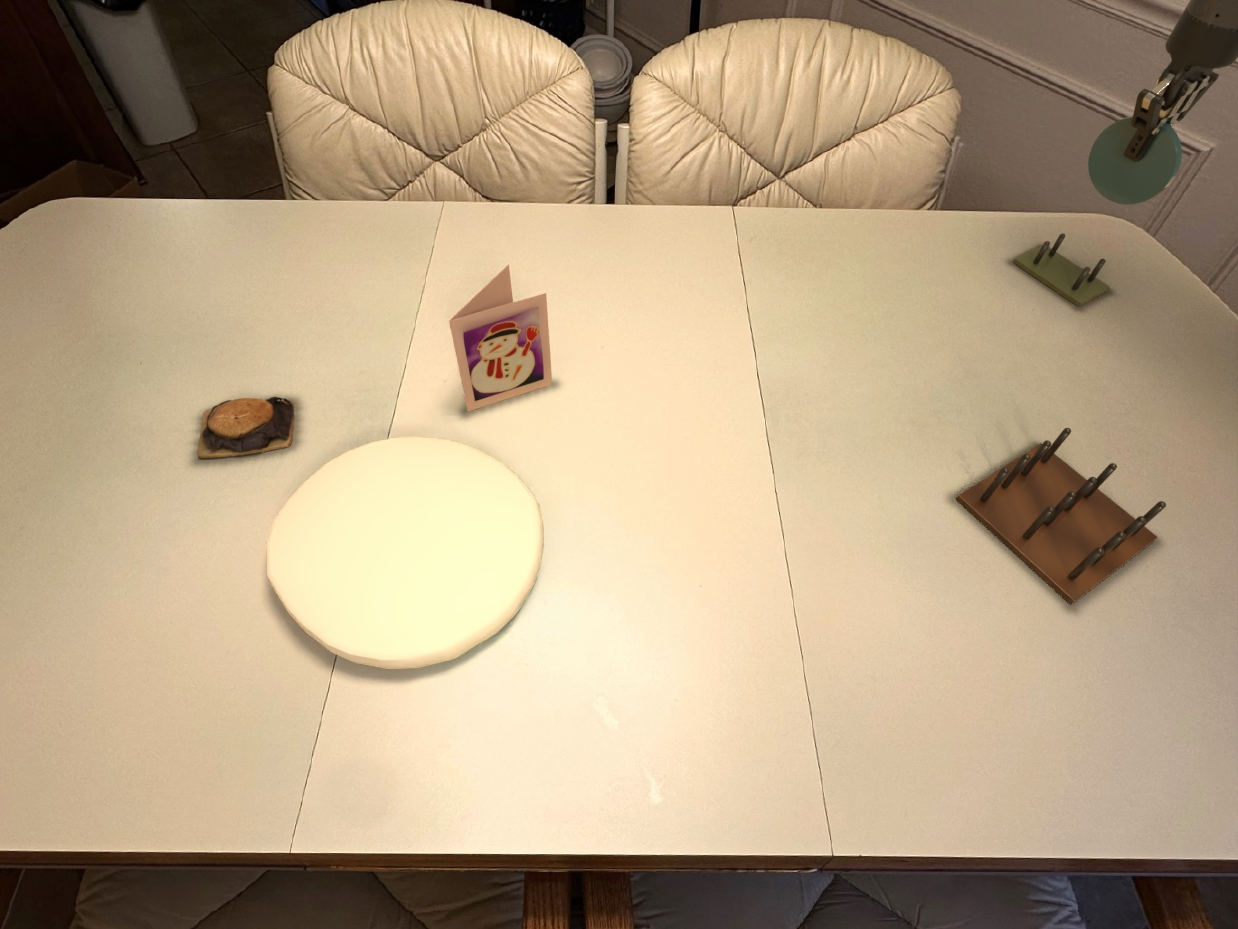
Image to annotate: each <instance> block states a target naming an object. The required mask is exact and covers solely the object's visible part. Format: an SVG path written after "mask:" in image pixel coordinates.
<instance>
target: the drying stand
mask: <svg viewBox="0 0 1238 929" xmlns="http://www.w3.org/2000/svg"><path fill="white" fill-rule="evenodd" d="M1065 238H1066V234H1065V233H1060V234H1059V235H1058V236H1057V239H1056V240H1055V242H1054V243H1053V245H1052V247H1050V245H1051V242H1050V241H1049V240H1045V241H1043V244H1042V245H1040V246H1038V247H1036V248H1033V249H1031V250H1029V251H1027V252H1025V253H1023V254H1022V255H1021V254H1020V255H1019V256H1017V257H1015V258H1014V259H1013V261H1012V264H1014V265H1015V266H1017V267H1019V269H1022V270H1023V271H1024V272H1026V273H1028V274H1029V275H1031V277H1033V278H1035V279H1037V281H1039V282H1040V283H1042V284H1044V285H1045V286H1046V287H1048V288H1050V289H1051V290H1053V291H1054V292H1056V293H1057V294H1059V295H1060V296H1062V297H1063V298H1065V299H1066V300H1068V301H1069V302H1070V303H1072V304H1073V305H1075V306H1076V307H1078V308H1079V307H1082V306H1084V305H1085V304H1087V303H1089V302H1090V301H1092V300H1094V299H1096V298H1098V297H1099V296H1101V295H1103V294H1105V293H1107V292H1108V291H1109V290H1110V288H1111V286H1110V285H1108V284H1106V283H1105V282H1103V281H1102V280H1101V279H1099V278H1097V276H1098V275H1099V273H1100V271H1101V270H1102V268H1104V265H1105V264H1106V262H1107V260H1106V258H1100V260H1098V262H1097V264H1096V265H1095V267H1093V268H1094V269H1093V270H1092V271H1091V267H1089V266H1085V267H1084V268H1082V267H1081V266H1078V265H1077V264H1076V263H1074V262H1073V261H1071V260H1070V259H1068V258H1067V257H1066V256H1065V257H1064V256H1063V255H1061V253H1058V250H1059V248H1060V247H1061V245H1062V243H1063V241H1064V239H1065ZM1090 272H1091V273H1090Z"/></svg>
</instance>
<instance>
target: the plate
mask: <svg viewBox="0 0 1238 929" xmlns="http://www.w3.org/2000/svg"><path fill="white" fill-rule="evenodd" d="M541 512H542V511H541V507H540V502H539V501H538V500H537V499H536V497H535V496H534V495H533V494H532V492H531V491H530V490H529V488H528V487H527V486H526V484H524V482H523V481H522V480H521V478H520V477H519V475H517V474H516V473H515V472H514V471H513V470H512V469H510V468H509V467H508V466H507V465H505V464H504V463H503V462H502V461H500V460H498V459H496V458H494V457H492V456H490V455H489V454H486V453H484V452H483V451H481V450H479V449H477V448H475V447H473V446H471V445H468V444H466V443H462V442H458V441H455V440H452V439H445V438H444V439H443V438H438V437H437V438H436V437H427V436H398V437H397V436H396V437H391V438H386V439H380V440H374V441H371V442H368V443H366V444H363V445H360V446H358V447H354V448H352V449H350V450H346V451H344V452H343V453H341V454H340V455H338V456H336V457H334V458H333V459H331V460H330V461H328V462H326V463H324V464H323V465H322V466H321V467H320V468H318V469H317V470H316V471H315V472H314V473H313V474H312V475H311V476H309V477H308V478H307V479H306V480H305V481H303V482H302V483H301V484H300V486H298V488H297V489H296V490H295V491H294V492H293V493H292V494H291V496H289V497H288V499H287V500H286V501H285V503H284V504H283V506H282V507H281V508H280V510H279V511H278V513H277V514H276V516H275V517H274V518H273V520H272V522H271V525H270V528H269V531H268V534H267V537H266V542H265V546H266V547H265V548H266V550H265V551H266V575H267V580H268V582H269V583H270V585H271V587H272V589H273V590H274V592H275V593H276V595H277V597H278V598H279V600H280V601H281V603H282V604H283V606H284V608H285V609H286V611H287V613H288V614H289V616H290V617H291V618H292V619H293V620H294V621H295V622H296V623H297V624H298V626H300V628H301V629H302V630H303V631H304V632H305V633H306V634H307V635H309V636H310V637H311V638H313V639H314V640H315V641H316V642H317V643H319V644H320V645H321V646H323V647H324V649H327V650H328V651H329V652H331V653H332V654H333V655H336V656H338V657H341V658H343V659H345V660H348V661H350V662H352V663H355V664H357V665H364V666H370V667H375V668H381V669H387V670H401V669H403V670H405V669H418V668H423V667H428V666H432V665H436V664H440V663H445V662H449V661H453V660H456V659H458V658H459V657H460V656H462V655H463V654H466V653H467V652H468V651H470V650H472V649H473V648H475V647H476V646H478V645H480V644H482V643H483V642H484V641H486V640H488V639H489V638H491V637H493V636H495V635H496V634H498V633H499V632H500V631H501V630H502V629H503V628H504V627H505V626H506V625H507V624H508V623H509V622H510V621H511V620H512V619H513V618H514V617H515V616H516V615H517V613H518V611H520V609H521V607H522V606H523V604H524V603H525V601H526V599H527V598H528V597H529V595H530V594H531V592H532V591H533V588H534V585H535V583H536V580H537V578H538V575H539V573H540V570H541V565H542V559H543V553H544V546H545V542H544V541H545V540H544V539H545V538H544V537H545V536H544V533H545V532H544V530H545V529H544V522H543V517H542V513H541Z"/></svg>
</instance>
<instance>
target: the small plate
mask: <svg viewBox="0 0 1238 929" xmlns="http://www.w3.org/2000/svg"><path fill="white" fill-rule="evenodd" d="M1132 118H1133V115H1130V116H1126V117H1123V118H1122V119H1119V120H1116V121H1114V122H1113V123H1111V124H1109V125H1108V126H1106V128H1104V129H1103V131H1102V132H1100V134H1099V135H1098V136H1097V137H1096V139H1095V140H1094V142H1093V144H1092V146H1091V148H1090V152H1089V155H1088V163H1087V168H1088V170H1087V171H1088V175H1089V178H1090V181H1091V183H1092V185H1093V187H1094V189H1095V190H1096V191H1097V193H1099V194H1100V195H1101V196H1102V197H1103V198H1105V199H1107V200H1108V201H1110V202H1113V203H1115V204H1120V205H1136V204H1141V203H1145V202H1147V201H1149V200H1151V199H1153V198H1155V197H1157V196H1158V195H1160V194H1161V193H1163V192H1164V191H1165V190H1166V189H1167V188H1169V186H1170V185H1171V184H1172V183H1173V181H1174V180H1175V178H1176V176H1177V175H1178V172H1179V171H1180V168H1181V164H1182V158H1183V157H1182V156H1183V149H1182V144H1181V140H1180V138H1179V136H1178V133H1177V132H1176V130H1175V129H1174V128H1173V126H1172V127H1171V126H1170V125H1169V124H1168V123H1167V122H1165V124H1164V125H1163V127H1162V128H1161V130H1160V132H1159V133H1158V134H1157V136H1156V137H1155V139H1154V141H1153V142H1152V144H1151V145H1150V147H1149V149H1148V150H1147V152H1146V153H1145V155H1144V157H1143V158H1142V159H1141V160H1139V161H1137V162H1134V161H1132V160H1130V159H1128V158H1126V157H1125V156H1124V152H1125V150H1126V148H1127V147H1128V145H1129V143H1130V141H1131V140H1132V138H1133V136H1134V135H1135V133H1136V131H1137V130H1138V129H1137V128H1135V127H1133V126H1131V123H1132ZM1158 120H1159V118H1158Z"/></svg>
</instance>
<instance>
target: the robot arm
mask: <svg viewBox="0 0 1238 929" xmlns="http://www.w3.org/2000/svg"><path fill="white" fill-rule="evenodd" d="M1164 48H1165V51H1166V52H1167V54H1168V55H1169V56H1170V58H1171V61H1170V63H1169V64H1168V65H1167V66H1166V68H1164V69H1163V70H1162V71H1161V72H1160V74H1159V75H1158V77H1157V79H1156V81H1155V87H1153V88H1152V89H1151V90H1149V89H1148V88H1142V90H1141V91H1139V93H1138V95H1137V97H1136V100H1135V104H1134V105H1135V106H1134V110H1133V114H1132V116H1133V118H1132V123H1131V126H1133V127H1135V128H1137V129H1138V130H1137V131H1136V133H1135V135H1134V136H1133V138H1132V140H1131V141H1130V143H1129V145H1128V147H1127V148H1126V150H1125V152H1124V156H1125V157H1126V158H1128V159H1130V160H1132V161H1134V162H1137V161H1139V160H1141V159H1142V158H1143V157H1144V155H1145V153H1146V152H1147V150H1148V149H1149V147H1150V145H1151V144H1152V142H1153V141H1154V139H1155V137H1156V136H1157V134H1158V133H1159V132H1160V130H1161V128H1162V127H1163V125H1164V124H1165V122H1167V123H1168V124H1169V125H1170V126H1171V127H1172V128H1173V126H1174V124H1175V123H1176V121H1177V122H1181V121H1182V120H1183V119H1184V118H1185V117H1186V115H1187V114H1188V113H1189V112H1190V111H1191V110H1192V109H1193V108H1194V106H1195V105H1196V104H1197V103H1198V102H1199V100H1200V99H1201V98H1202V97H1203V96H1204V95H1205V94H1206V93H1207V91H1208V90H1209V89H1210V88H1211V87H1212V86H1213V85H1214V83H1215V82H1216V81H1218V78H1219V77H1220V74H1219V73H1218V72H1214V71H1213V70H1214V69H1224V68H1226V67H1229V66H1231V65H1233V64H1234V63H1235V62H1236V61H1237V59H1238V0H1189V1H1188V2H1187V5H1186V6H1185V9H1184V10H1183V12H1182V13H1181V15H1180V17H1179V19H1178V20H1177V22H1176V24H1175V26H1174V28H1173V29H1172V31H1171V33H1170V34H1169V36H1168V37H1167V40H1166V41H1165V45H1164ZM1158 118H1159V120H1158Z"/></svg>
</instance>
